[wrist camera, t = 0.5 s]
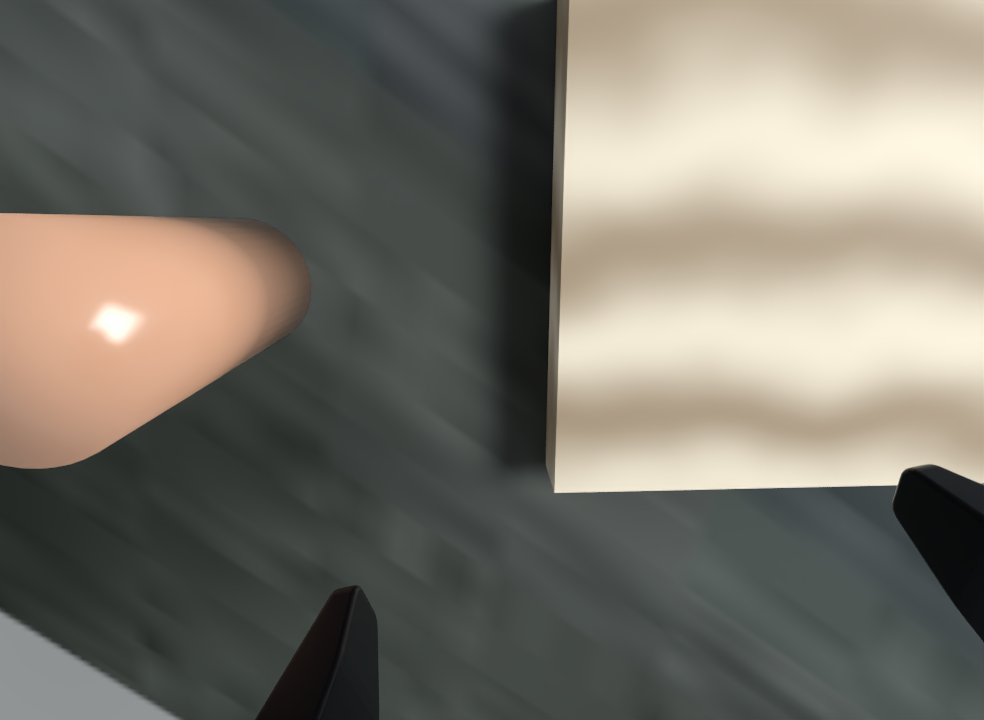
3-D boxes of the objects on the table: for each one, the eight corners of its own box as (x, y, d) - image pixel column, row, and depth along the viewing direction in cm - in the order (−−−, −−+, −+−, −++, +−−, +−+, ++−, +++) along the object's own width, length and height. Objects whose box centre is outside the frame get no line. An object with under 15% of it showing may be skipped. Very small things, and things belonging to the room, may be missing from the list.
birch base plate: (941, 456, 24) (994, 483, 21) (545, 464, 23) (554, 492, 21) (1046, 3, 19) (1128, -28, 17) (557, -3, 19) (570, -37, 16)
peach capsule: (316, 345, 21) (164, 466, 11) (191, 346, 21) (-91, 471, 11) (305, 217, 20) (119, 212, 9) (171, 218, 20) (-171, 213, 9)
